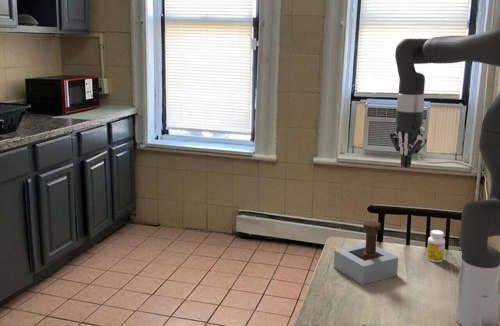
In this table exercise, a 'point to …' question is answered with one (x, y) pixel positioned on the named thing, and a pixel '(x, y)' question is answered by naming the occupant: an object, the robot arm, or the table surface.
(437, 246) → the supplement bottle
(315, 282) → the table surface
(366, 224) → the bolt
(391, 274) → the socket block
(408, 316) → the table surface
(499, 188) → the robot arm
